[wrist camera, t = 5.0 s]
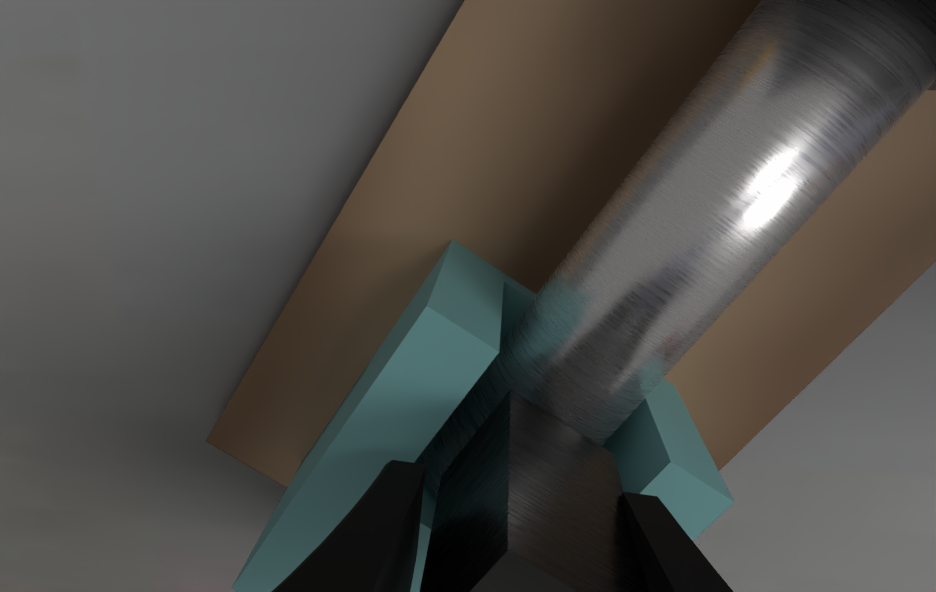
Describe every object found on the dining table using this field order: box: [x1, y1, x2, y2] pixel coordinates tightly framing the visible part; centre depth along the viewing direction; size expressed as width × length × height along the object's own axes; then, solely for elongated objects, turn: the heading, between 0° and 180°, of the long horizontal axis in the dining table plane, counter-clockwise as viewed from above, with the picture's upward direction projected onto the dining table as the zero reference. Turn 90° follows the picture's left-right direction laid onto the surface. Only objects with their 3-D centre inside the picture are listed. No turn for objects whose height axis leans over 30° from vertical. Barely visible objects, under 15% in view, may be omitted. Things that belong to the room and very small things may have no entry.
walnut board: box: [206, 0, 936, 488], centre depth 13 cm, size 12×31×1 cm, turn 147°
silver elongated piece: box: [419, 0, 936, 592], centre depth 9 cm, size 3×14×7 cm, turn 147°
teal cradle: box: [231, 240, 734, 592], centre depth 14 cm, size 7×8×4 cm
